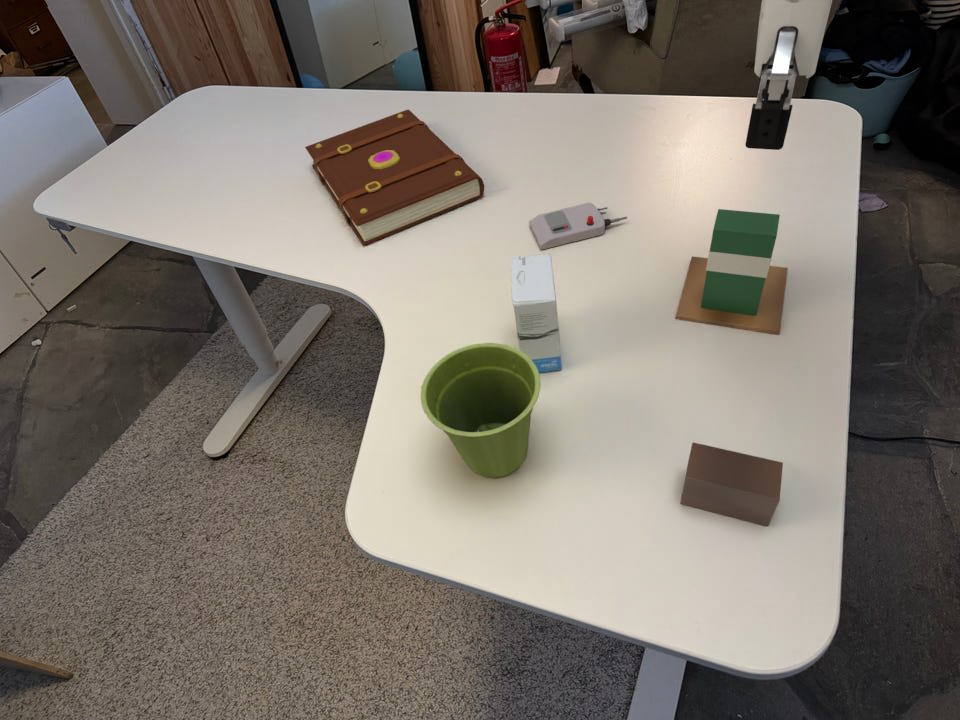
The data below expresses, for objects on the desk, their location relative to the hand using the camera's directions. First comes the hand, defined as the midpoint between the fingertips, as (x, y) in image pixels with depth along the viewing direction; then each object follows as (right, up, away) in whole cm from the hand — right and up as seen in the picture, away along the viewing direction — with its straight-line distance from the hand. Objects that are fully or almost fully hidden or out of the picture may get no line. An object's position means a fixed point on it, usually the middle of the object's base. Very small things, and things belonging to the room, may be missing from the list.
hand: (768, 121), depth 59 cm
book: (-44, +9, +51) cm, 68 cm away
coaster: (+4, -15, +19) cm, 24 cm away
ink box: (-20, -22, +18) cm, 35 cm away
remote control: (-14, -3, +33) cm, 36 cm away
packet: (+4, -14, +18) cm, 24 cm away
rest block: (-4, -37, +1) cm, 37 cm away
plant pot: (-26, -33, +8) cm, 43 cm away
